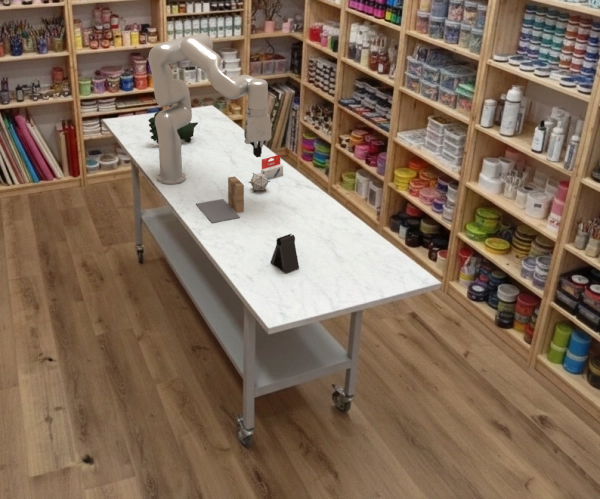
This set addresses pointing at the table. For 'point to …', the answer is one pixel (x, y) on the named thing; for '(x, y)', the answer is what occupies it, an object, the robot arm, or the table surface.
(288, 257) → the phone stand
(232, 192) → the walnut slab
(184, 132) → the toy figurine
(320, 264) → the table surface
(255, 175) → the game die
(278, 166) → the ink cartridge box
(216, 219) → the mat
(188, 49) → the robot arm
